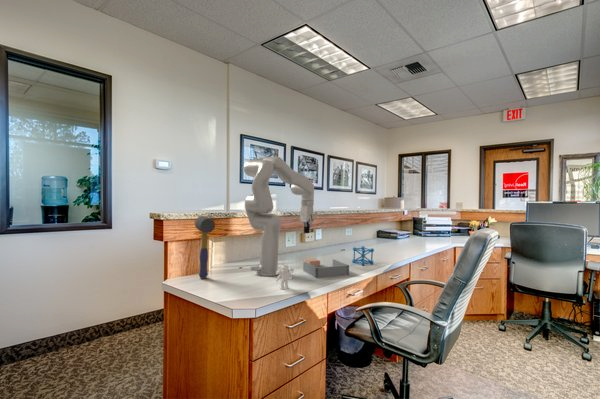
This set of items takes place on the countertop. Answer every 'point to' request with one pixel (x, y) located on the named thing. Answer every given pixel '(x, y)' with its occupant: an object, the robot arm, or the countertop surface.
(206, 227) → the rubber mallet
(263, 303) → the countertop surface
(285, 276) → the flower shoulder figurine
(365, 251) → the molecular structure
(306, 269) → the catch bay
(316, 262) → the terracotta tile
